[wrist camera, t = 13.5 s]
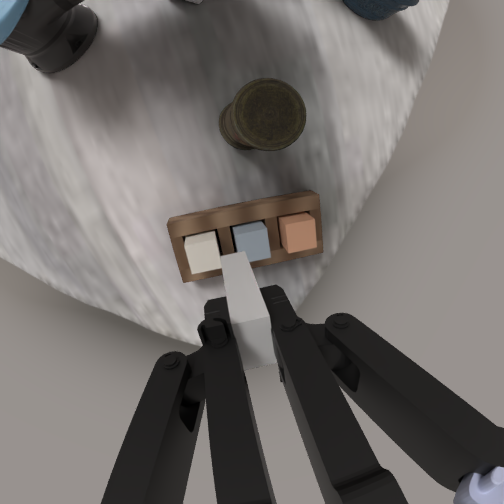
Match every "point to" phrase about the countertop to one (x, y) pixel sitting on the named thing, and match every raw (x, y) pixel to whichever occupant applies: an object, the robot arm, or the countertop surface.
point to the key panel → (242, 214)
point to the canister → (378, 7)
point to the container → (263, 116)
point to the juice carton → (195, 1)
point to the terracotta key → (297, 231)
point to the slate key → (252, 240)
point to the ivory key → (202, 251)
